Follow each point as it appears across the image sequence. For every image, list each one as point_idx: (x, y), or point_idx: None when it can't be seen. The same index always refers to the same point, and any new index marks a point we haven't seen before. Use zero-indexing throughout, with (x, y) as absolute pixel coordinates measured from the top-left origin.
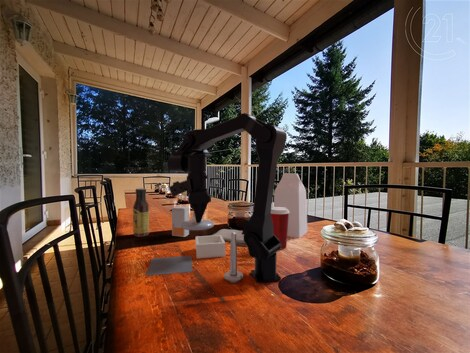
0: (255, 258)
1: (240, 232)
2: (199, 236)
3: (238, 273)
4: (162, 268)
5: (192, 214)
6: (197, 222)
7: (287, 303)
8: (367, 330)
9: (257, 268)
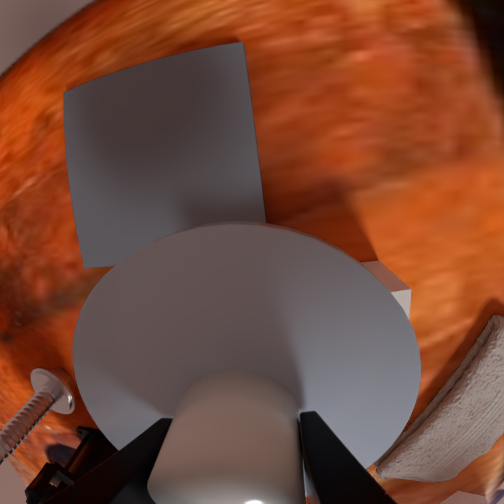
0: (80, 468)
1: (481, 441)
2: (407, 316)
3: (55, 405)
4: (110, 132)
5: (186, 458)
6: (161, 426)
7: (32, 431)
8: (21, 463)
9: (83, 451)
